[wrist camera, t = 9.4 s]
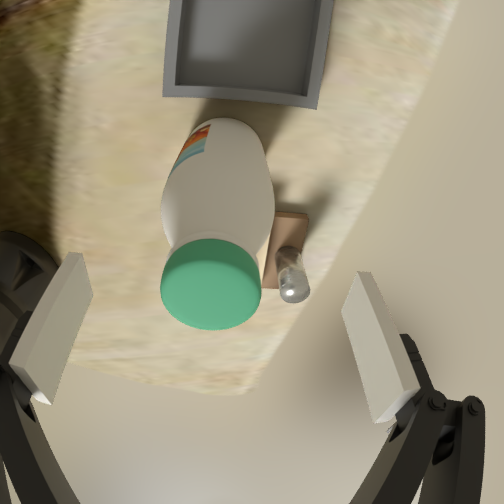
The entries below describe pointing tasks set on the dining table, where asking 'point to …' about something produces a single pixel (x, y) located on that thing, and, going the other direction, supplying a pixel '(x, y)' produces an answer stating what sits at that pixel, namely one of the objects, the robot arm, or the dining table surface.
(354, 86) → the dining table surface
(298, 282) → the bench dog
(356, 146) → the dining table surface
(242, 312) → the milk bottle
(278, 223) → the board
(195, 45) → the tray
